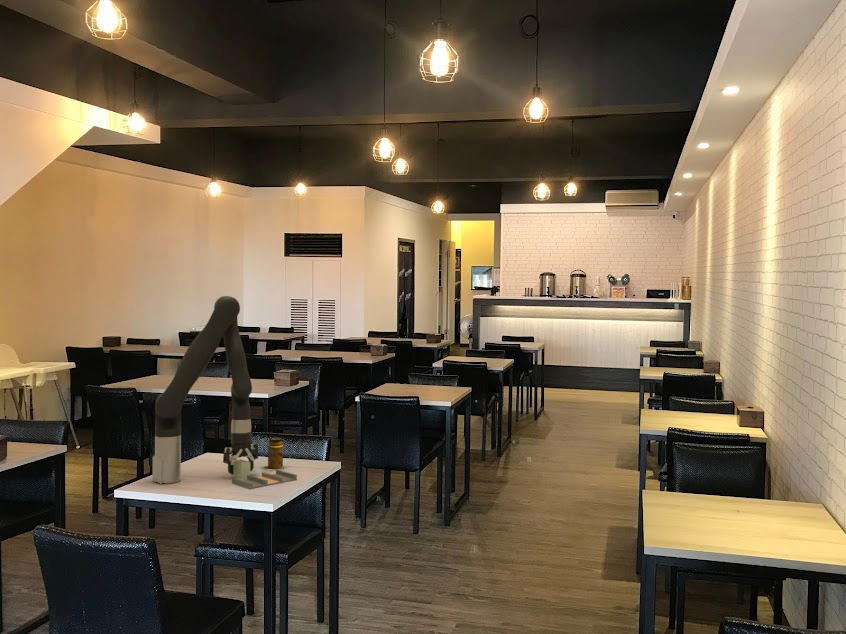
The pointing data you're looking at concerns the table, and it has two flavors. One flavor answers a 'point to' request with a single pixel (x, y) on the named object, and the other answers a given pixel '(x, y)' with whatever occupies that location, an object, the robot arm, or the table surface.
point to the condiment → (274, 454)
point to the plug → (241, 469)
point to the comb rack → (265, 479)
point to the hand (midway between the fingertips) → (240, 472)
